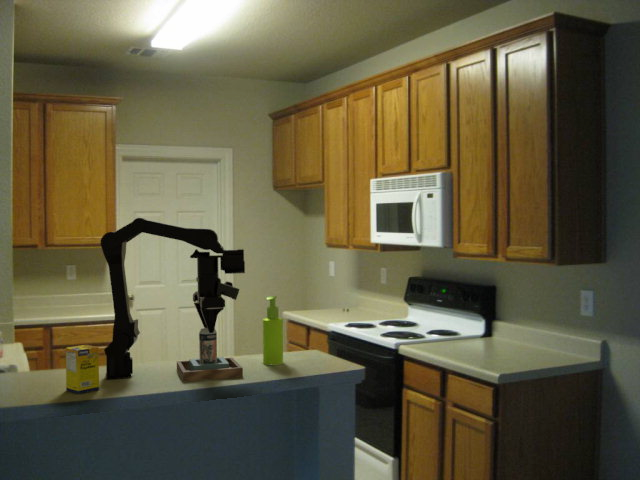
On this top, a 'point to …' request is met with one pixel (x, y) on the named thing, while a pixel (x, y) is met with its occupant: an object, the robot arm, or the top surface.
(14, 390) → the top surface
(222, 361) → the bore plate
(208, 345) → the beer can
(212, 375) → the walnut box
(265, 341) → the soap dispenser
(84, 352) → the supplement box
